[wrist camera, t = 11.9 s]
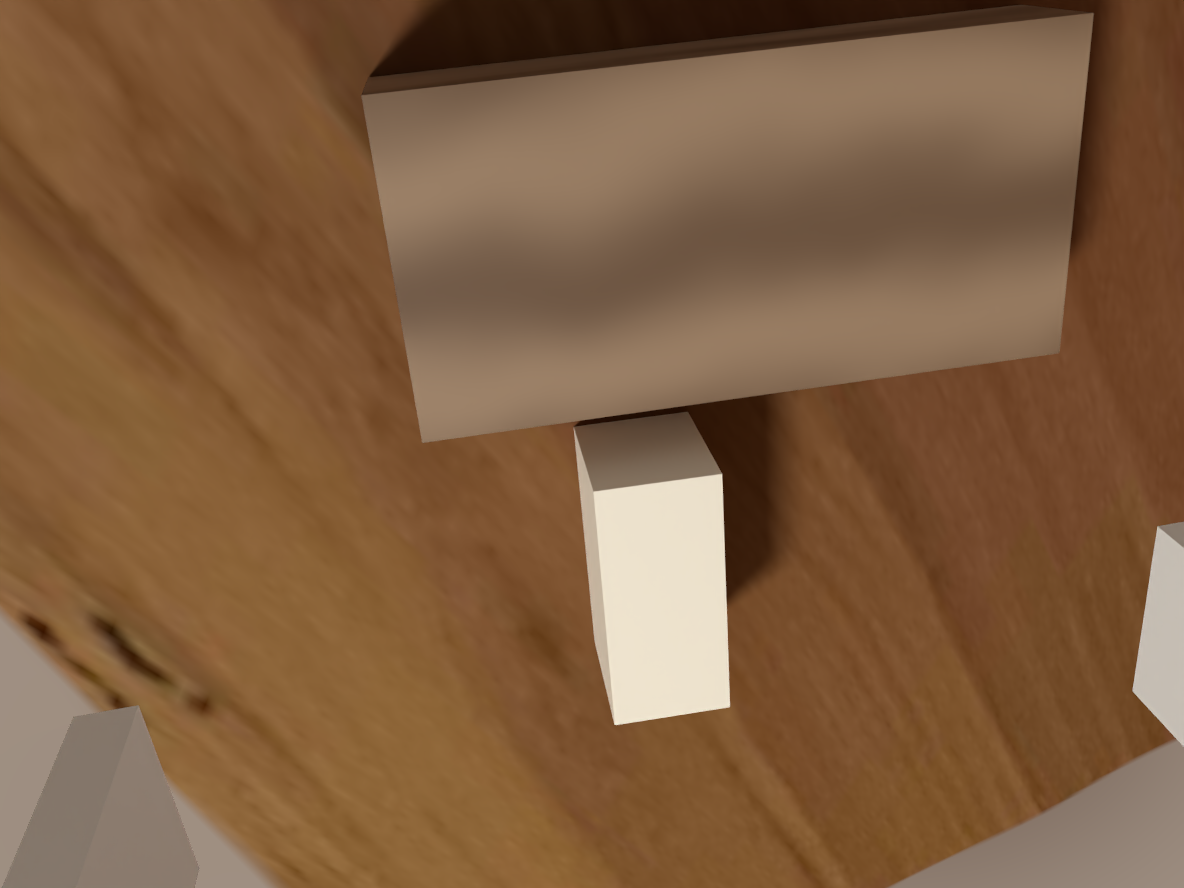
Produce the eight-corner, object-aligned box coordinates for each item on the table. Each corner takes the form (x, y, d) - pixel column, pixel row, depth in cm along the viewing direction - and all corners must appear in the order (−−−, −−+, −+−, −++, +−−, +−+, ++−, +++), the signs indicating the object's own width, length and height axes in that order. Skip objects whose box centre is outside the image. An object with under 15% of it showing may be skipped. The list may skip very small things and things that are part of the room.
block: (593, 491, 33) (615, 732, 37) (722, 473, 33) (730, 714, 37) (573, 425, 38) (594, 646, 42) (687, 410, 38) (697, 630, 42)
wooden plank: (368, 77, 32) (361, 95, 28) (1021, 4, 34) (1094, 12, 30) (422, 392, 36) (422, 442, 32) (998, 313, 38) (1059, 352, 34)
